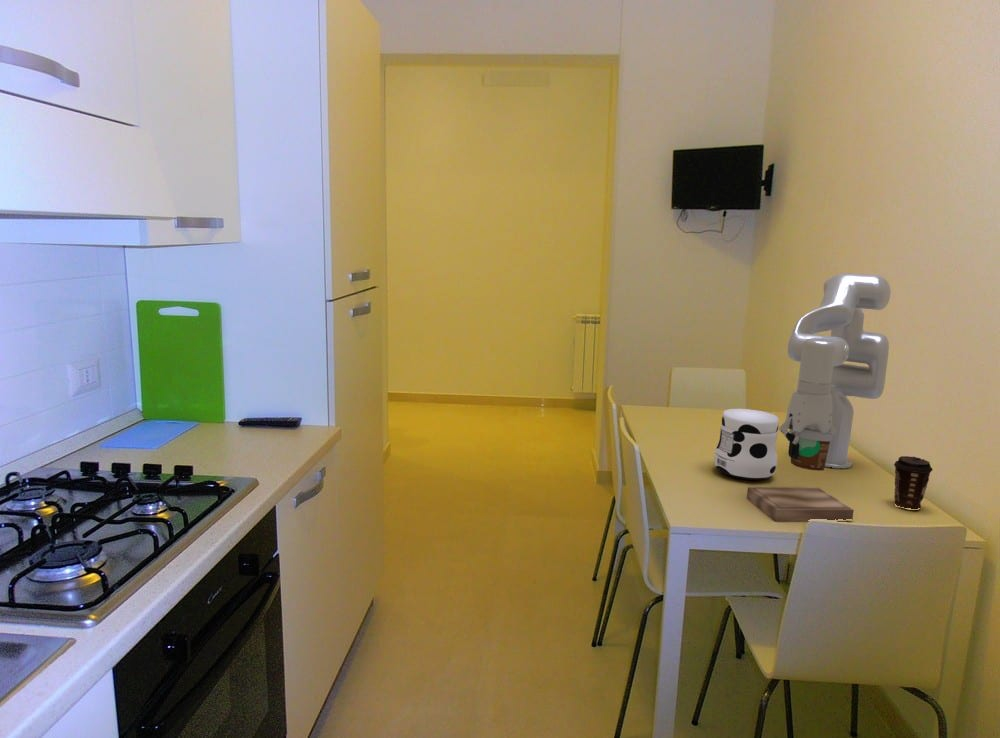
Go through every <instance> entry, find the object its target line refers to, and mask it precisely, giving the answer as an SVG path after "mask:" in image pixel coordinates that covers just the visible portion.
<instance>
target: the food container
mask: <svg viewBox="0 0 1000 738" xmlns="http://www.w3.org/2000/svg"><path fill="white" fill-rule="evenodd" d="M792 429H793V427H791V429H789V430H788V431H789V433H791V430H792ZM792 434H793V435H794V436H795V434H796V433H794V432H792ZM797 436H798V437H800V438H799V440H798V443H797V444H799V452H798V459H797V460H794V459H793V458H791V457H790V464H792V465H793V466H794V467H798V468H800V469H805V470H810V471H817V472H818V471H822V472H823V471H824V470H825V468H826V467H825V463H826V458H827V453H828V449H829V444H830V441H832V433H823V432H814V431H809V430H804V429H803V431H802V432H801V433H798V435H797Z"/></svg>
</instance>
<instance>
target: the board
mask: <svg viewBox="0 0 1000 738" xmlns="http://www.w3.org/2000/svg"><path fill="white" fill-rule="evenodd" d="M746 499H747V500H749V501H750V502H751V503H752V504H754V505H755V506H756V507H757V508H759V509H760V510H761V511H762V512H763V513H765V514H766V515H768V517H769V518H770V519H772V520H773V521H774V522H776V523H777V522H778V523H779V522H780V523H782V522H783V523H784V522H789V523H790V522H793V523H794V522H795V523H796V522H798V523H800V522H803V523H805V522H806V521H808V520H810V519H827V520H835V519H836V520H838V519H843V520H846V519H852V520H853V518H854V511H855V510H854V509H852V508H851V507H849V506H848V505H846V504H845V503H843V502H841V501H840V500H838V499H837V498H836V497H834V496H833V495H831V494H829V493H828V492H826V491H824V489H821V488H820V487H798V486H797V487H796V486H795V487H791V486H790V487H787V486H786V487H782V486H781V487H776V486H775V487H774V486H769V487H768V486H766V487H764V486H748V487H747V491H746Z"/></svg>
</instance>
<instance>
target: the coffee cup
mask: <svg viewBox="0 0 1000 738" xmlns="http://www.w3.org/2000/svg"><path fill="white" fill-rule="evenodd" d="M893 465H894V467H895V469H894V473H895V475H894V477H895V478H894V496H893V497H894V502H893V504H894V503H895V504H896V505H897V506H900V507H904V508H911V509H918V508H921V509H922V506H921V502H922V501H923V499H924V498H925V493H926V491H927V487H928V483H929V481H930V480H929V479H930V474H931V473H932V471H933V468H932V466H931V464H930V461H928V460H926V459H924V458H920V457H915V456H907V455H905V456H899V457H898V460H896V461H895V462H894V464H893Z"/></svg>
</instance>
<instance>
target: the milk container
mask: <svg viewBox="0 0 1000 738" xmlns="http://www.w3.org/2000/svg"><path fill="white" fill-rule="evenodd" d="M778 431H779V417H778V416H776V415H775V414H773V413H769V412H767V411H761V410H758V409H757V410H756V409H750V408H748V409H747V408H728V409H726V410H723V413H722V418H721V424H720V432H719V433H720V435H719V440H718V443H717V445H716V448H715V452H714V465H715V467H716V469H717V470H718V471H719V472H721V473H722V474H724V475H727V476H729V477H733V478H736V479H741V480H746V481H747V480H750V481H759V480H761V481H762V480H767V479H770V478H772V476H774V474H775V473H776V469H777V465H778V456H777V450H776V449H777V448H776V447H777V446H776V445H777V438H778Z"/></svg>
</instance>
